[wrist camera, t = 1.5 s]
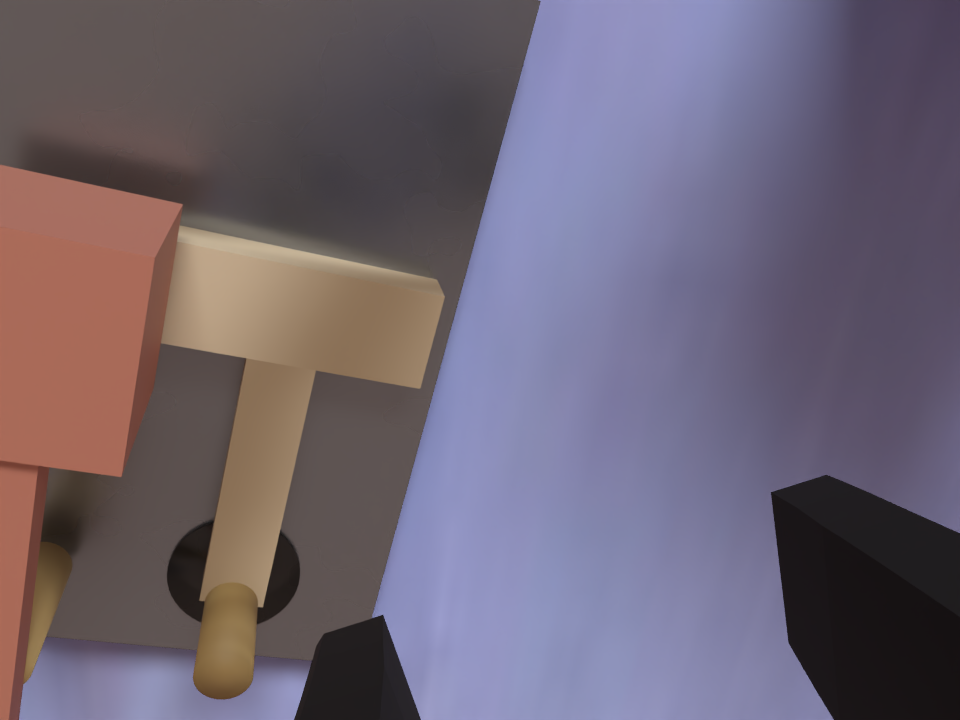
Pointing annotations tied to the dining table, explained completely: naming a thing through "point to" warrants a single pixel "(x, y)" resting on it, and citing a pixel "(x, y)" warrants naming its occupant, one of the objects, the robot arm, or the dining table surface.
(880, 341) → the dining table surface
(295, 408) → the beam
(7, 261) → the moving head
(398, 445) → the bolt plate
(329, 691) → the robot arm
